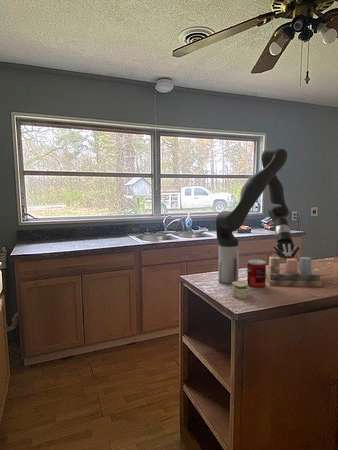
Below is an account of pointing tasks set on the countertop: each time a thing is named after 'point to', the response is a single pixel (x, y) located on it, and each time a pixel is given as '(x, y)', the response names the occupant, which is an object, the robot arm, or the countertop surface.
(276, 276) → the wooden board with bar
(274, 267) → the maple key
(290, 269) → the salmon orange block
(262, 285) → the canned food
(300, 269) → the slate key
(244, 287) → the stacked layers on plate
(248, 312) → the countertop surface
